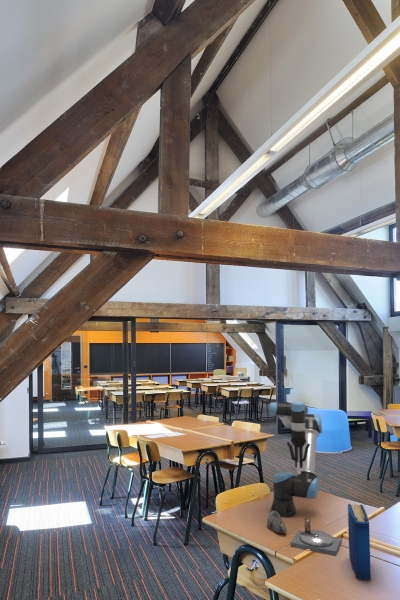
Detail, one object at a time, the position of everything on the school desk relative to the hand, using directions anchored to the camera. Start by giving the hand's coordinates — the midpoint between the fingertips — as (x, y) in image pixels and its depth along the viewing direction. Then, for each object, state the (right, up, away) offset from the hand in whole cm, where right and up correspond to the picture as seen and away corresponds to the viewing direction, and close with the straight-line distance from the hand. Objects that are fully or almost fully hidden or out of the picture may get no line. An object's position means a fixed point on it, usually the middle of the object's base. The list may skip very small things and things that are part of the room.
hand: (299, 473), depth 244 cm
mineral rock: (-14, -29, -6) cm, 33 cm away
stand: (+4, -27, -22) cm, 35 cm away
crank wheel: (+4, -25, -22) cm, 33 cm away
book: (+17, -24, -47) cm, 56 cm away
